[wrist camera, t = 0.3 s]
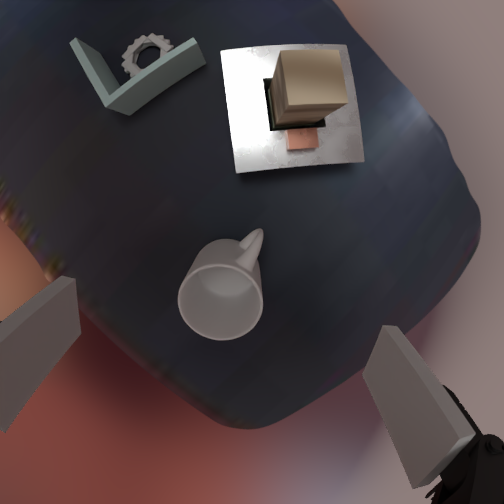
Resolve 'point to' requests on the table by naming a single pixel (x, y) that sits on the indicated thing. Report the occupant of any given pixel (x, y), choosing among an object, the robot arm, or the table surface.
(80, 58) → the right angle wall
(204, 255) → the mug
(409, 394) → the robot arm
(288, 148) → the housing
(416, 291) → the table surface
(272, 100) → the column
